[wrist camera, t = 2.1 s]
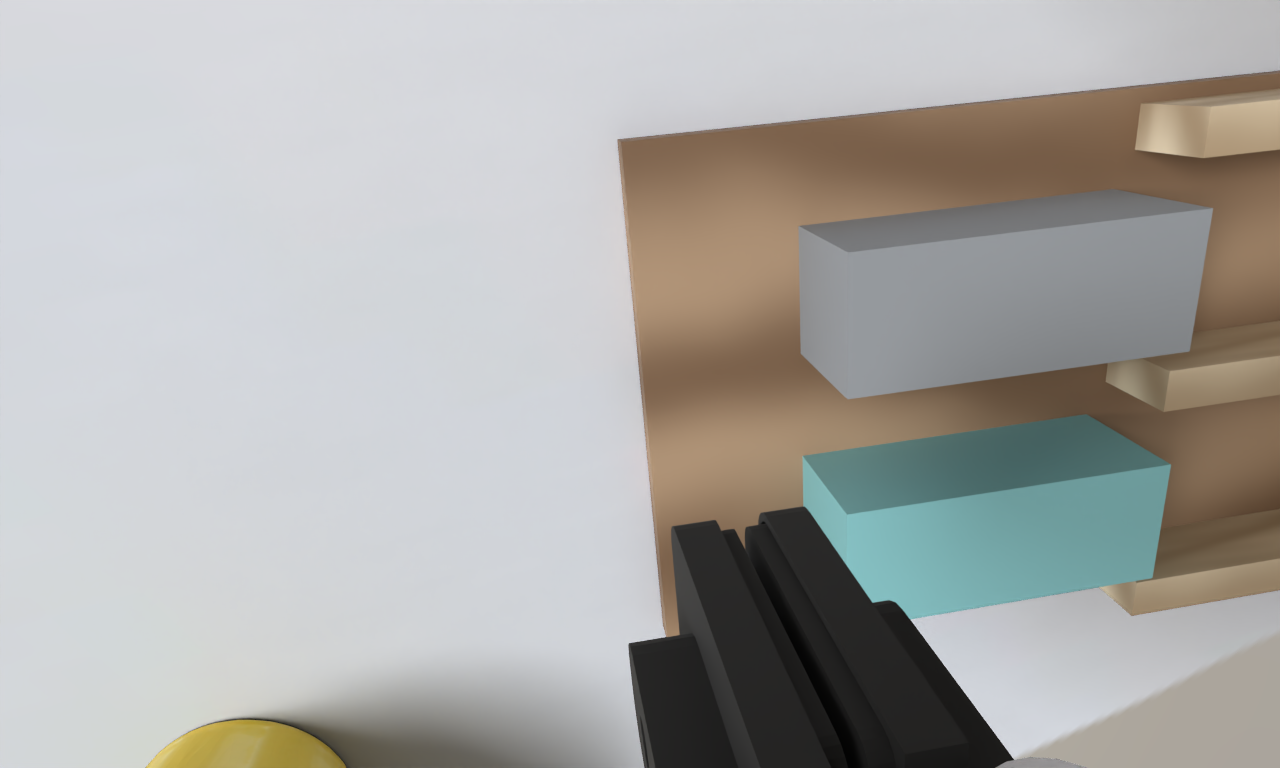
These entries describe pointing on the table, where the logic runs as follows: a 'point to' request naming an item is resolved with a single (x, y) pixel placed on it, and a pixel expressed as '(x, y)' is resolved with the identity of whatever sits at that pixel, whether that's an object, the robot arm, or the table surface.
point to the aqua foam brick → (991, 513)
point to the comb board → (1110, 393)
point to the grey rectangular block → (999, 289)
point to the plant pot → (246, 748)
